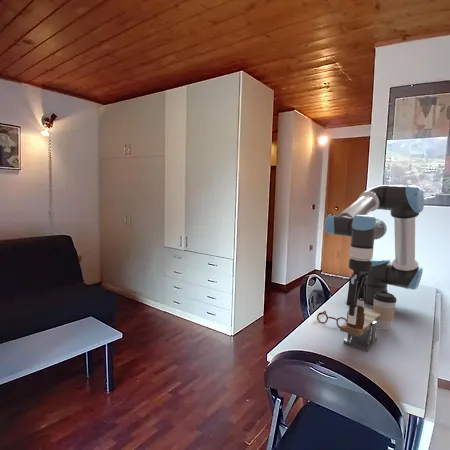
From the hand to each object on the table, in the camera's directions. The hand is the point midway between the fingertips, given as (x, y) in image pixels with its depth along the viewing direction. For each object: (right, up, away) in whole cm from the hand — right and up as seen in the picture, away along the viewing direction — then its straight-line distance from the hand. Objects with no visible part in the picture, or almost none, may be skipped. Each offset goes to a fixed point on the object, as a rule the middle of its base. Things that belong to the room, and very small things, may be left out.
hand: (355, 320), depth 119 cm
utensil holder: (0, -2, 0) cm, 2 cm away
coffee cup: (+21, -10, +24) cm, 33 cm away
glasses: (+2, -9, +28) cm, 30 cm away
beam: (+6, -3, +7) cm, 10 cm away
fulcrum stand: (+5, -11, +8) cm, 15 cm away
